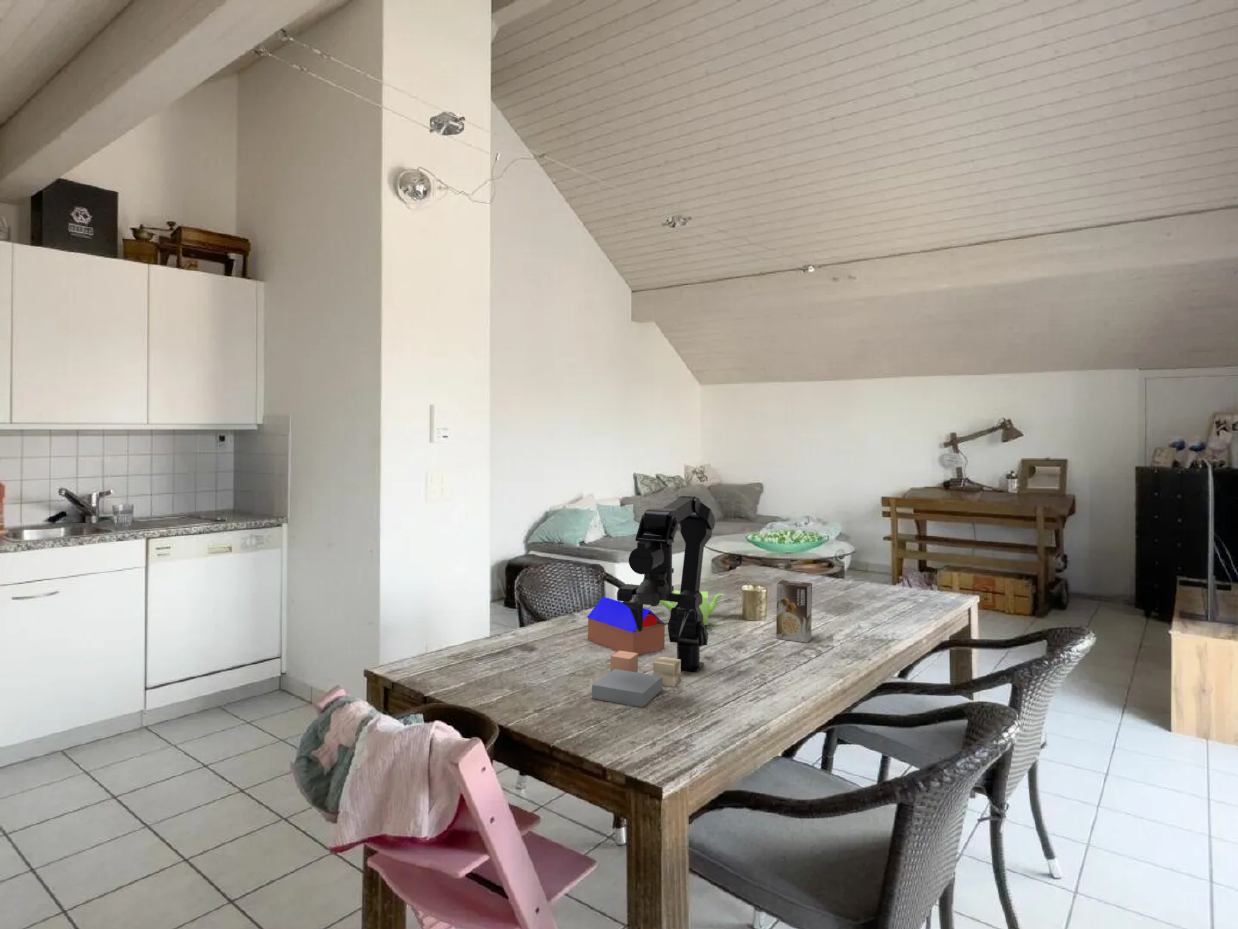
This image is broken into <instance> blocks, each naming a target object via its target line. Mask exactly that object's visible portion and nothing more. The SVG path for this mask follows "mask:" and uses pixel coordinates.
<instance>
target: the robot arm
mask: <svg viewBox="0 0 1238 929" xmlns="http://www.w3.org/2000/svg"><path fill="white" fill-rule="evenodd" d="M715 520H716V518H715V515H714V513H713V512H712V509H711V508H710V507H709V506H707V505H705V503H703V502H702V501H701V499H700V498H699V497H697V496H694V495H680V496H678V497H677V499H675V500H673V501H672V502H670V503H668V504H667V505H666V506H664V507H662V508H661V507H658V508H655V507H654V508H648V509H646V510H645V511H644V513H643V514H642V516H641V518H640V522H639V525H638V529H637V531H636V536H635V542H637V543H636V546H637V547H636V548H634V549H633V550H632V551H631V552H630V554H629V557H628V564H629V567H630V568H631V570H632V571H633V572H634V573H636V574H638V575H643V580H642V581H641V583H640V584H633V583H631V584H630V583H627V584H625V585H623V586H620V587H619V588H618V589H617V592H616V600H617V601H620V602H622V603H623V605H626V606H627V607H628V608H629V609H630V610H631V612H632V614H633V617H634V619H635V622H636V625H637V628H638V631H639V632H641V631H642V626H643V608H644V605H645V606H650V607H657V606H659V605H660V603H659V602H660V600H662V601H669V602H670V603H671V602H672V603H673V602H678V604H677V605H676V606H675V607H673V608H672V609H671V611H670V617H669V620H668V623H667V631H668V632H667V633H668V639H669V642H670V643H674V644H675V643H676V659H681V671H682V670H683V671H688V672H689V671H690V672H698V671H699V670H700V669H702V667H703V666H704V665H705V662H703V661H700V660H701V659H700V656H701V647H703V646H707V645H708V640H709V633H708V630H707V628H706V625H704V623H703V614H702V612H701V610H700V607H699V606H700V605H701V604H702V594H701V593H700V591H701V590H700V588H701V579H702V578H701V577H702V570H703V569H702V567H703V558H704V550H705V546H706V544H707V543H708V541H710V540H711V538H712V535H713V530H714V529H715V526H716V521H715ZM679 527H680V535H681V538H682V540H683V541H684V544H685V545H684V546H685V547H684V552H683V553H684V554H683V564H682V574H681V582H680V589H679V590H680V594H677V593H674V590H675V589H674V588H675V587H674V585H673V574H674V572H675V569H674V567H673V543H675V540H674V539H675V536H676V534H677V531H678V529H679Z"/></svg>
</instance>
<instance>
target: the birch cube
mask: <svg viewBox="0 0 1238 929" xmlns="http://www.w3.org/2000/svg"><path fill="white" fill-rule="evenodd" d="M652 666H653V667H652V669H653V670H652V671H653V672H652V675H656V676H663V686H667V687H674V686H676V685H677V684H678V683H679V682H680V681H681V671H682V669H681V659H677V658H673V657H666V656H660V657H658V658H657V659H656V660H655V661H654V662H653V665H652Z"/></svg>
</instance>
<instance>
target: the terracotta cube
mask: <svg viewBox="0 0 1238 929" xmlns="http://www.w3.org/2000/svg"><path fill="white" fill-rule="evenodd" d="M614 669H619V670H625V671H631V672H638V673H639V671H638V670H639V655H638V653H633V652H626V651H617V652H615V653H613V654H611V655H610V672H611V671H613V670H614ZM610 672H609V673H610Z"/></svg>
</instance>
